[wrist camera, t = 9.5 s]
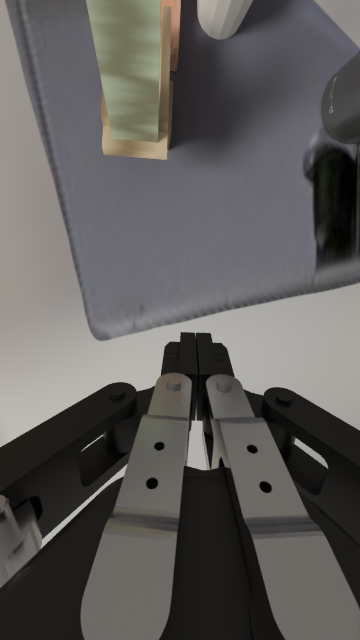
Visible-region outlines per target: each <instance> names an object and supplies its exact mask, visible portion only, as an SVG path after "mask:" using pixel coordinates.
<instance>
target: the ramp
mask: <svg viewBox="0 0 360 640" xmlns="http://www.w3.org/2000/svg"><path fill="white" fill-rule="evenodd" d="M86 2H87V7H88V13H89V18H90V23H91V28H92V34H93V39H94V44H95V49H96V55H97V60H98V65H99V70H100V76H101V81H102V86H103V88H102V104H101V118H102V123H103V138H102V149H103V153H104V154H105V155H117V156H129V157H141V158H153V159H165V160H167V137H168V113H169V75H170V37H171V7H169V6H163V21H161V20H160V10H161V0H86Z"/></svg>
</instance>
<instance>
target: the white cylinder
mask: <svg viewBox="0 0 360 640" xmlns="http://www.w3.org/2000/svg"><path fill="white" fill-rule="evenodd" d="M252 2H253V0H197V13H198V20H199V22H200V25H201V27H202V29H203V30H204V31H205V32H206V33H207V35H208V36H209V37H212V38H214V39H217V40H221V39H227V38H229V37H230V36H232V35H233V34H235V32H236V31H237V29H238V28H239V26H240V25H241V23H242V21H243V19H244V17H245V15H246V13H247V11H248V9H249V7H250V6H251V4H252Z"/></svg>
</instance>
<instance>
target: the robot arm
mask: <svg viewBox="0 0 360 640" xmlns="http://www.w3.org/2000/svg"><path fill="white" fill-rule="evenodd" d="M322 119H323V122H324V125H325V127H326V129H327V131H328V133H329V134H330V135H331V136H332V137H333V138H334V139H336V140H337V141H339V142H342V143H345V144H354V143H358V142H360V52H358V53H357V54H356V55H355V56H354V57H353V58H352V59H351V60H350V61H349V62H348V63H347V64H346V65H345V66H343V67H342V68H341V69H340V70H339V71H338V72H337V73H336V74H335V75H334V76H333V78H332V79H331V81H330V82H329V84H328V86H327V88H326V90H325V92H324V96H323V100H322ZM196 414H197V421H198V420H199V421H203V431H202V439H203V445H204V451H205V457H206V463H207V470H199V469H195V468H192V467H188V466H187V458H188V446H189V432H190V430H191V424H192V423H191V421H192V420H195V415H196ZM102 434H103V436H102V437H101V438H99V439H98V440H97V441H95V442H94V443H93V444H91V445H90V446H88V447H87V448H86V449H84V448H85V447H86V446H87V445H88V444H90V443H91V442H93V441H94V440H96V439H97V438H98V437H100V436H101V435H102ZM295 438H297V439H299V440H300V441H301V442H303V443H304V444H306V445H307V446H309V447H310V448H311V449H313V450H314V451H315V452H317V453H318V454H320V455H321V456H322V457H323V458H324V459H325V461H326V463H327V465H328V469H327V468H326V467H325V466H323V465H322V464H321V463H319V462H318V461H317V460H315V459H314V458H313V457H311V456H310V455H308V454H307V453H306V452H304V451H303V450H302V449H300V448H299V447H298V446H296V445H295V444H294V442H295ZM83 449H84V450H83ZM82 450H83V451H82ZM81 451H82V452H81ZM126 464H128V465H127V468H126V471H125V475H124V477H122V478H119V479H118V480H116V481H114V482H113V483H111V484H110V485H109V486H107V487H106V488H105V489H104V490H102V491H101V492H100V493H99V494H98V495H97V496H96V497H95V498H94V499H93V500H92V501H91V502H90V503H89V504H88V505H87V506H85V507H84V509H82V510H81V511H80V512H79V513H78V514H77V515H76V516H75V517H74V518H73V519H72V520H71V521H70V522H69V523H68V524H67V525H66V526H65V527H64V528H63V529H61V530H60V531H59V532H58V533H57V534H56V535H55V536H54V537H53V538H52V539H51V540H50V541H49V542H48V543H47V544H46V545H45V546H44V547H43V548H41V544H42V539H43V538H44V537H45V536H46V535H48V534H49V533H50V532H51V531H52V530H53V529H54V528H55V527H56V526H58V525H59V524H60V523H61V522H62V521H63V520H64V519H66V518H67V517H68V516H69V515H70V514H71V513H72V512H73V511H75V510H76V509H77V508H78V507H79V506H80V505H81V504H82V503H84V502H85V501H86V500H87V499H88V498H89V497H90V496H92V495H93V494H94V493H95V492H96V491H97V490H98V489H99V488H100V487H102V486H103V485H104V484H105V483H106V482H107V481H108V480H110V479H111V478H112V477H113V476H114V475H115V474H116V473H117V472H119V471H120V470H121V469H122V468H123V467H124V466H125V465H126ZM40 548H41V549H40ZM0 640H360V431H359V430H358V429H356V428H354V427H353V426H351V425H349V424H347V423H346V422H344V421H342V420H341V419H339V418H337V417H336V416H334V415H332V414H330V413H329V412H327V411H325V410H324V409H322V408H320V407H318V406H317V405H315V404H313V403H312V402H310V401H308V400H307V399H305V398H303V397H302V396H300V395H298V394H296V393H295V392H293V391H291V390H288V389H285V388H280V387H274V388H270V389H268V390H266V391H265V393H264V396H263V395H259V394H255V393H251V392H249V391H246V390H244V389H243V387H242V385H241V383H240V382H239V380H237V379H236V378H235V377H234V373H233V369H232V365H231V362H230V358H229V354H228V351H227V348H226V347H225V346H224V345H223V344H222V343H212V338H211V334H210V333H196V340H195V333H186V332H181V336H180V342H169V343H168V344H167V345H166V346H165V350H164V356H163V364H162V370H161V377H159V379H158V380H157V382H156V385H155V386H153V387H152V388H149V389H146V390H142V391H137V392H136V389H135V387H134V386H132V385H131V384H128V383H124V382H117V383H112V384H109V385H107V386H105V387H103V388H102V389H100V390H98V391H97V392H95V393H93V394H91V395H90V396H88V397H86V398H85V399H83V400H81V401H79V402H78V403H76V404H74V405H72V406H71V407H69V408H67V409H66V410H64V411H62V412H60V413H59V414H57V415H55V416H54V417H52V418H50V419H48V420H47V421H45V422H43V423H41V424H40V425H38V426H36V427H35V428H33V429H31V430H29V431H28V432H26V433H24V434H23V435H21V436H19V437H17V438H16V439H14V440H12V441H11V442H9V443H7V444H6V445H4V446H2V447H0Z"/></svg>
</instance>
